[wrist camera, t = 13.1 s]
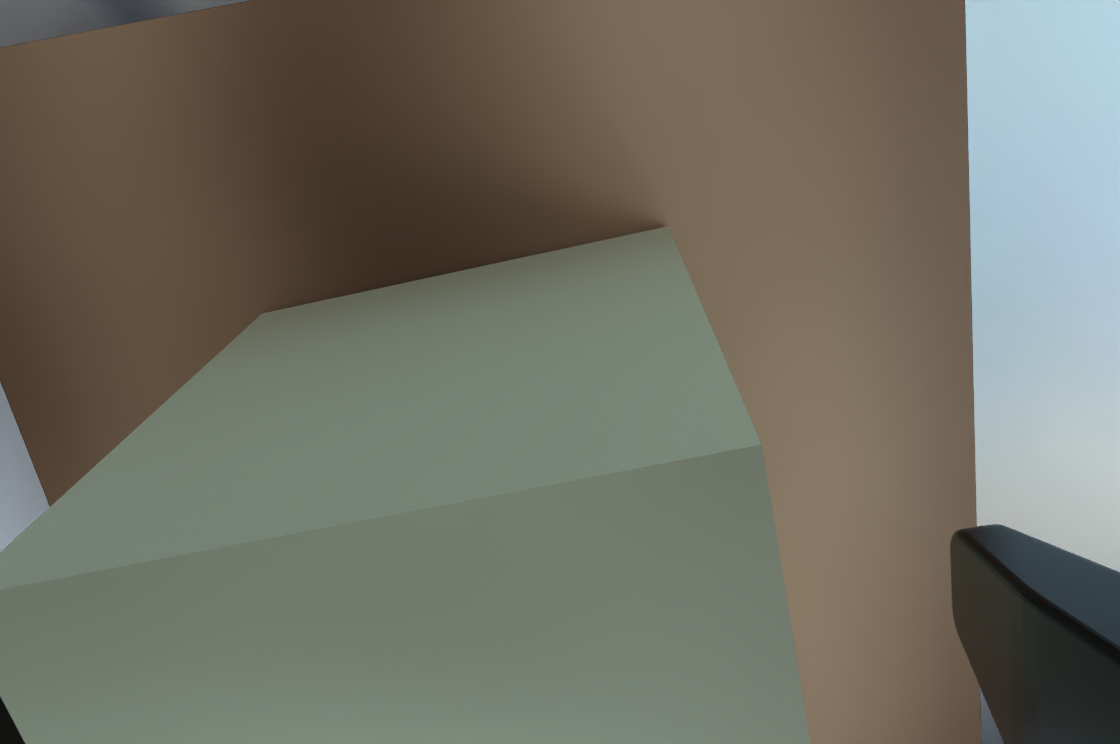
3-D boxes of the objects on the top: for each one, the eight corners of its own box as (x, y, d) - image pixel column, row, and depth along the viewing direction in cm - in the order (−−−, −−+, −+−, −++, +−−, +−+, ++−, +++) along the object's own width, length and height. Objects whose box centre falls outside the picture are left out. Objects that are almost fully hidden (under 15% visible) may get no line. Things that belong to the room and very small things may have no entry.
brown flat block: (856, -87, 13) (962, -134, 10) (895, 619, 17) (981, 782, 14) (63, 61, 14) (-123, 70, 11) (273, 698, 18) (193, 870, 15)
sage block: (668, 225, 11) (762, 444, 5) (734, 586, 13) (860, 1042, 7) (261, 313, 11) (-50, 598, 6) (378, 649, 13) (225, 1123, 7)
